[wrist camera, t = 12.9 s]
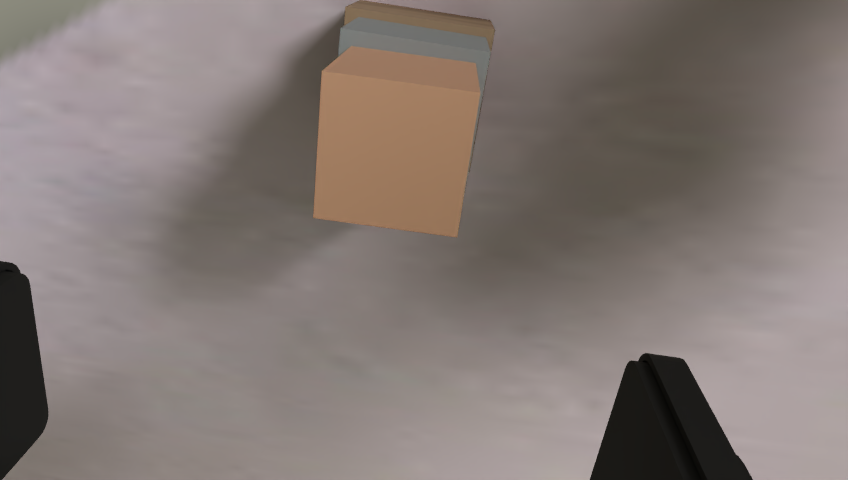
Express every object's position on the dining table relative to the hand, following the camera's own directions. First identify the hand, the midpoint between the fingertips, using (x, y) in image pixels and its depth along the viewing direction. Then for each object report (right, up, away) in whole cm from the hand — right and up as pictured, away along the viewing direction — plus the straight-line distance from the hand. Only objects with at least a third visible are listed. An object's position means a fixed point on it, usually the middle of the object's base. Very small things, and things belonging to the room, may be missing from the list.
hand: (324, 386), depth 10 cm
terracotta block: (+1, +7, +16) cm, 18 cm away
